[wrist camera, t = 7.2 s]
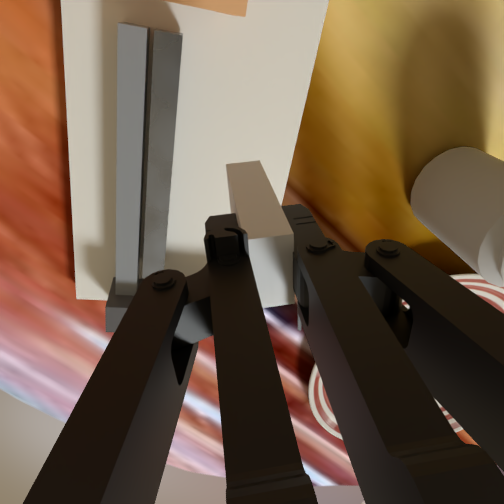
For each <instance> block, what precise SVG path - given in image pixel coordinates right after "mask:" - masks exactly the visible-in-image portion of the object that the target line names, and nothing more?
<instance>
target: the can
mask: <svg viewBox="0 0 504 504" xmlns="http://www.w3.org/2000/svg"><path fill="white" fill-rule="evenodd" d="M411 207H412V210H413V213H414V215H415V216H416V217H417V219H418V220H419V221H420V222H421V223H422V224H423V225H425V226H426V227H427V228H428V229H429V230H430V231H431V232H432V233H433V234H435V235H436V236H437V237H438V238H439V239H440V240H441V241H442V242H443V243H445V244H446V245H447V246H448V247H449V248H450V249H451V250H452V251H454V252H455V253H456V254H457V255H458V256H459V257H460V258H461V259H462V260H464V261H465V262H466V263H467V264H468V265H469V266H470V267H471V268H473V269H474V270H475V271H476V272H477V273H478V274H479V275H480V276H481V277H483V278H484V279H485V280H486V281H487V282H488V283H491V284H493V285H496V286H498V287H504V161H502V160H500V159H498V158H495V157H493V156H491V155H489V154H487V153H485V152H483V151H481V150H479V149H477V148H472V147H458V148H454V149H449V150H447V151H445V152H444V153H442V154H440V155H438V156H436V157H435V158H434V159H433V160H432V161H430V162H429V163H428V164H427V165H426V166H425V167H424V168H423V170H422V171H421V172H420V174H419V175H418V177H417V178H416V180H415V183H414V186H413V188H412V191H411Z"/></svg>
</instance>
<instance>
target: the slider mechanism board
mask: <svg viewBox="0 0 504 504" xmlns="http://www.w3.org/2000/svg"><path fill="white" fill-rule="evenodd" d="M328 2H329V0H248V3H247V9H246V16H245V17H242V16H234V15H228V14H224V13H219V12H216V11H211V10H206V9H201V8H197V7H192V6H187V5H182V4H177V3H173V2H168V1H163V0H61V14H62V33H63V52H64V71H65V90H66V109H67V128H68V147H69V166H70V185H71V204H72V223H73V242H74V261H75V280H76V299H90V300H107V303H106V332H115V331H116V329H117V327H118V325H119V323H120V322H121V320H122V318H123V316H124V314H125V312H126V310H127V308H128V307H129V305H130V303H131V301H132V299H133V297H134V295H135V294H136V292H137V290H138V288H139V286H140V284H141V282H142V281H143V280H144V279H145V278H142V273H143V252H144V231H145V211H146V190H147V169H148V148H149V127H150V107H151V86H152V65H153V44H154V30H155V29H156V28H158V29H163V30H168V31H173V32H178V33H183V40H182V53H181V65H180V78H179V90H178V103H177V115H176V128H175V140H174V153H173V165H172V178H171V190H170V203H169V215H168V228H167V240H166V253H165V265H164V270H166V269H172V270H178V271H180V272H182V273H183V274H184V275H185V277H187V276H189V275H192V274H194V273H197V272H198V271H200V270H201V269H202V268H203V267H204V266H205V265H206V264H207V258H206V252H205V245H204V236H205V234H206V233H205V222H206V221H207V219H208V218H209V216H215V215H223V214H231V209H230V199H229V190H228V181H227V171H226V164H231V163H240V162H249V161H258V160H260V162H261V164H262V166H263V169H264V171H265V173H266V175H267V177H268V179H269V181H270V184H271V186H272V188H273V190H274V192H275V194H276V197H277V199H278V201H279V203H280V205H282V200H283V196H284V192H285V187H286V183H287V179H288V174H289V170H290V166H291V162H292V157H293V153H294V149H295V144H296V140H297V136H298V131H299V127H300V123H301V118H302V114H303V110H304V106H305V101H306V97H307V93H308V88H309V84H310V80H311V75H312V71H313V67H314V62H315V58H316V54H317V50H318V45H319V41H320V37H321V32H322V28H323V24H324V19H325V15H326V11H327V6H328Z"/></svg>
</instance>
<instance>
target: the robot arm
mask: <svg viewBox="0 0 504 504" xmlns="http://www.w3.org/2000/svg"><path fill="white" fill-rule="evenodd" d="M226 171H227V181H228V190H229V199H230V209H231V214H223V215H215V216H209V218H208V219H207V221H206V222H205V233H206V234H205V236H204V245H205V252H206V258H207V264H206V265H205V266H204V267H203V268H202V269H201V270H200V271H198V272H197V273H194V274H192V275H189V276H187V277H185V275H184V274H183V273H182V272H180V271H178V270H172V269H166V270H160V271H157V272H154V273H152V274H150V275H149V276H147V277H146V278H145V279H144V280H143V281H142V282H141V284H140V286H139V288H138V290H137V292H136V294H135V295H134V297H133V299H132V301H131V303H130V305H129V307H128V308H127V310H126V312H125V314H124V316H123V318H122V320H121V322H120V323H119V325H118V327H117V329H116V331H115V333H114V335H113V336H112V338H111V340H110V342H109V344H108V346H107V348H106V349H105V351H104V353H103V355H102V357H101V359H100V361H99V362H98V364H97V366H96V368H95V370H94V372H93V374H92V376H91V377H90V379H89V381H88V383H87V385H86V387H85V389H84V390H83V392H82V394H81V396H80V398H79V400H78V402H77V403H76V405H75V407H74V409H73V411H72V413H71V415H70V417H69V418H68V420H67V422H66V424H65V426H64V428H63V430H62V431H61V433H60V435H59V437H58V439H57V441H56V443H55V444H54V446H53V448H52V450H51V452H50V454H49V456H48V458H47V460H46V461H45V463H44V465H43V467H42V469H41V471H40V472H39V475H38V476H37V478H36V480H35V482H34V484H33V485H32V487H31V489H30V491H29V493H28V495H27V497H26V499H25V500H24V502H23V504H154V503H155V500H156V496H157V493H158V489H159V486H160V482H161V478H162V475H163V471H164V468H165V464H166V461H167V457H168V454H169V450H170V446H171V443H172V439H173V436H174V432H175V428H176V425H177V421H178V418H179V414H180V411H181V407H182V403H183V400H184V396H185V393H186V389H187V386H188V382H189V378H190V375H191V371H192V368H193V364H194V361H195V357H196V353H197V350H198V341H200V340H202V339H205V338H207V337H209V336H212V335H214V346H215V357H216V369H217V380H218V391H219V403H220V414H221V425H222V437H223V448H224V459H225V471H226V483H227V489H226V503H227V504H318V502H317V498H316V495H315V491H314V488H313V485H312V482H311V479H310V477H309V475H307V474H306V473H305V470H304V468H303V464H302V461H301V457H300V453H299V449H298V445H297V441H296V437H295V433H294V429H293V425H292V421H291V417H290V414H289V410H288V406H287V402H286V398H285V394H284V390H283V386H282V382H281V378H280V374H279V371H278V367H277V363H276V359H275V355H274V351H273V347H272V343H271V339H270V335H269V331H268V327H267V324H266V320H265V316H264V312H263V308H266V307H273V306H280V305H287V304H294V292H295V294H296V297H297V300H298V330H301V325H302V326H303V329H304V332H305V334H306V337H307V340H308V343H309V346H310V349H311V351H312V354H313V357H314V360H315V363H316V365H317V368H318V371H319V374H320V377H321V379H322V382H323V385H324V388H325V391H326V394H327V396H328V399H329V402H330V405H331V408H332V410H333V413H334V416H335V419H336V422H337V424H338V427H339V430H340V433H341V436H342V439H343V441H344V444H345V447H346V450H347V453H348V455H349V458H350V461H351V464H352V467H353V469H354V472H355V475H356V478H357V481H358V484H359V486H360V489H361V492H362V495H363V497H364V500H365V503H366V504H504V476H503V474H502V473H501V471H500V470H499V468H498V467H497V465H498V466H499V467H500V468H501V469H502V470H503V471H504V313H502V312H501V311H499V310H498V309H496V308H495V307H494V306H492V305H491V304H489V303H488V302H486V301H485V300H484V299H482V298H481V297H479V296H478V295H476V294H475V293H473V292H472V291H471V290H469V289H468V288H466V287H465V286H463V285H462V284H461V283H459V282H458V281H456V280H455V279H453V278H452V277H451V276H449V275H448V274H446V273H445V272H443V271H442V270H440V269H439V268H438V267H436V266H435V265H433V264H432V263H430V262H429V261H428V260H426V259H425V258H423V257H422V256H420V255H419V254H418V253H416V252H415V251H413V250H412V249H410V248H409V247H407V246H406V245H404V244H402V243H400V242H398V241H394V240H389V239H387V240H386V239H381V240H375V241H373V242H370V243H369V244H368V245H367V246H366V249H365V253H361V252H348V251H343V250H342V249H341V248H340V246H339V245H338V244H337V243H336V242H335V241H334V240H332V239H330V238H326V237H325V236H324V234H323V233H322V231H321V229H320V228H319V226H318V224H317V223H316V221H315V219H314V218H313V216H312V214H311V212H310V211H309V209H307V208H306V207H304V206H302V205H301V204H296V205H288V206H281V205H280V203H279V201H278V199H277V197H276V194H275V192H274V190H273V188H272V186H271V184H270V181H269V179H268V177H267V175H266V173H265V171H264V169H263V166H262V164H261V162H260V160H258V161H249V162H240V163H231V164H226ZM402 300H404V301H405V302H406V303H407V304H408V305H409V306H410V307H409V309H408V308H406V307H405V306H404V305H403V304H402ZM434 398H435V399H436V400H437V401H438V402H439V404H440V405H441V406H442V407H443V408H444V409H445V410H446V411H447V412H448V413H449V414H450V415H451V416H452V417H453V418H454V419H455V421H456V422H457V423H458V424H459V425H460V426H461V427H462V428H463V429H464V430H465V431H466V432H467V433H468V434H469V435H470V436H471V437H472V439H473V440H474V441H475V442H476V443H477V444H478V445H479V446H480V447H481V448H480V447H479V446H478V445H472V444H465V443H464V442H463V441H461V440H460V438H459V437H458V436H457V434H456V433H455V431H454V430H453V428H452V426H451V425H450V423H449V421H448V420H447V418H446V417H445V415H444V413H443V412H442V410H441V409H440V407H439V405H438V404H437V402H436V401H435V399H434ZM495 463H496V464H497V465H496V464H495Z"/></svg>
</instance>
